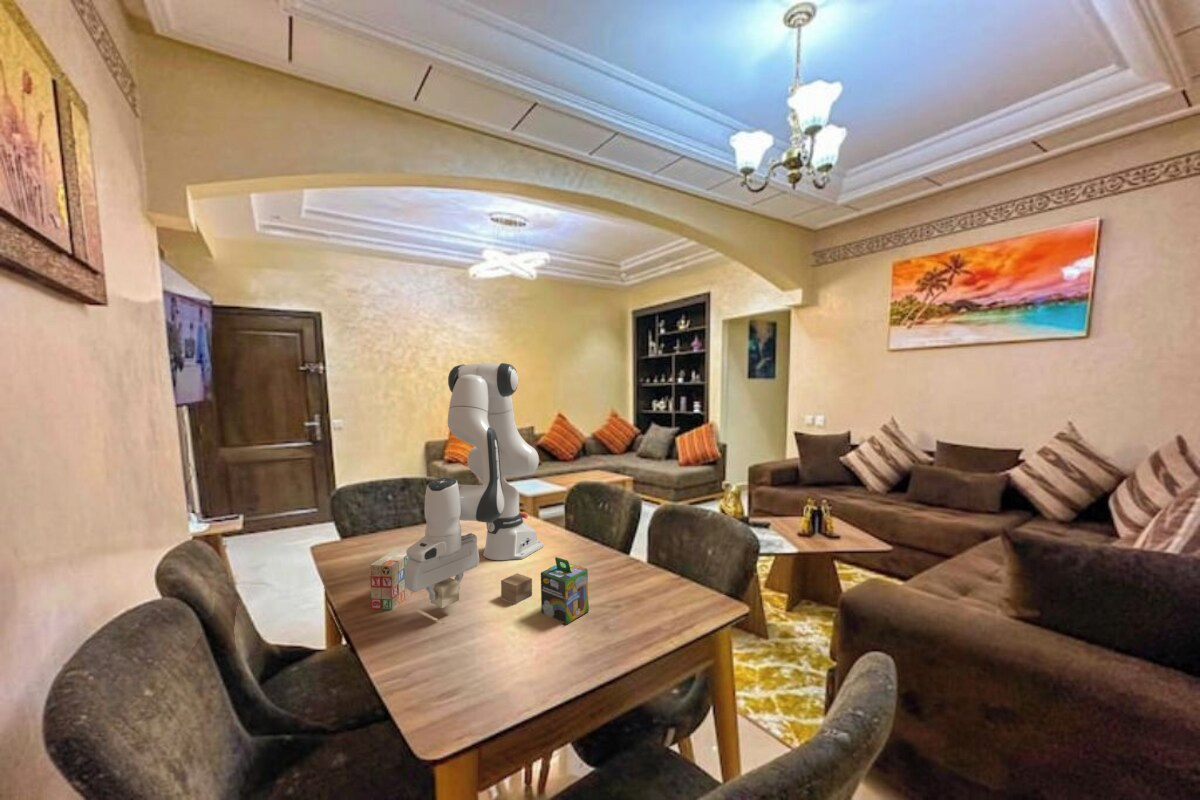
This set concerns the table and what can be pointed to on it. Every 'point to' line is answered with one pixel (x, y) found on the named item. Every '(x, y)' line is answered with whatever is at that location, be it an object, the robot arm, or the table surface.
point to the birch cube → (446, 592)
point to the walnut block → (516, 588)
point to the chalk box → (564, 591)
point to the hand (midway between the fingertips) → (444, 594)
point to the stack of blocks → (389, 580)
